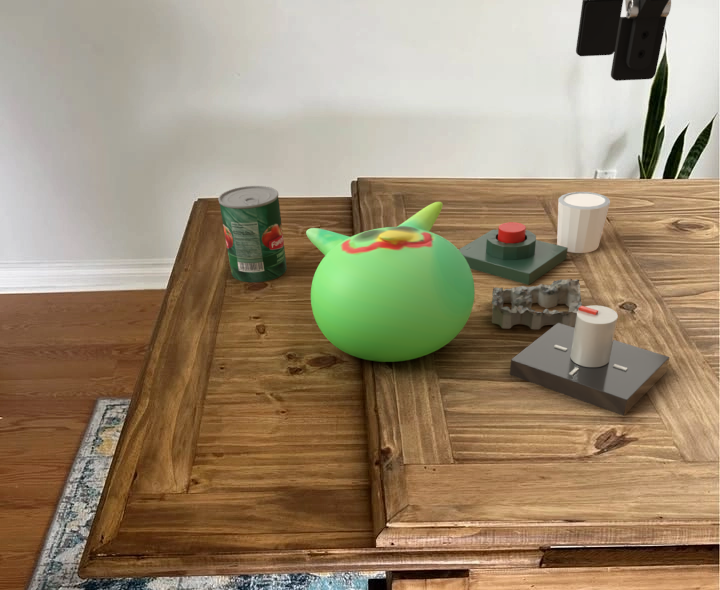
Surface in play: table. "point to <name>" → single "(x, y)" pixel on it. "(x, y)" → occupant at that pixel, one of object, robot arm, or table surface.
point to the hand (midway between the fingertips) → (612, 66)
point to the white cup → (581, 220)
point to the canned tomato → (253, 233)
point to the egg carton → (544, 297)
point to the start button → (511, 232)
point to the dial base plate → (590, 371)
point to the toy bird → (391, 289)
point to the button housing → (513, 257)
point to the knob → (593, 335)
